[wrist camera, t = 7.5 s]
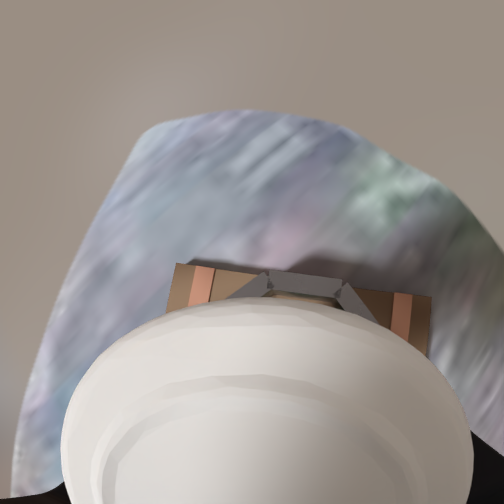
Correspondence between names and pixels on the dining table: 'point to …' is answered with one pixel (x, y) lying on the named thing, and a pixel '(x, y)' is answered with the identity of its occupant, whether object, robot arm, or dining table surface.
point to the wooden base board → (378, 302)
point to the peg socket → (305, 290)
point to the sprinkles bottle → (265, 413)
